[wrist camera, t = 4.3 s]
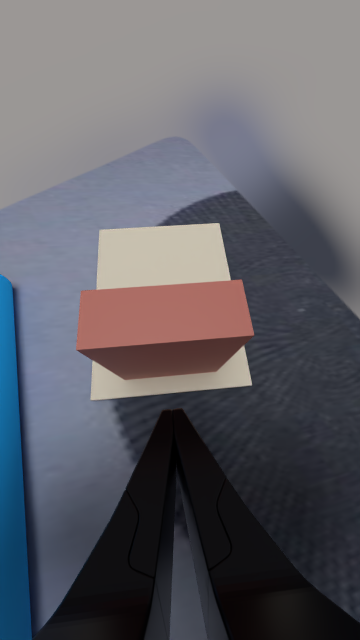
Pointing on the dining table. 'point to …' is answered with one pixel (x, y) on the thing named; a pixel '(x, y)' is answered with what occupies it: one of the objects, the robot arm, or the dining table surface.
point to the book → (11, 486)
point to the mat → (164, 269)
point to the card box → (164, 328)
